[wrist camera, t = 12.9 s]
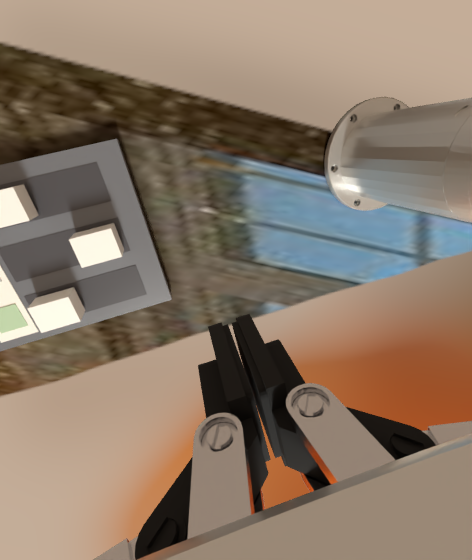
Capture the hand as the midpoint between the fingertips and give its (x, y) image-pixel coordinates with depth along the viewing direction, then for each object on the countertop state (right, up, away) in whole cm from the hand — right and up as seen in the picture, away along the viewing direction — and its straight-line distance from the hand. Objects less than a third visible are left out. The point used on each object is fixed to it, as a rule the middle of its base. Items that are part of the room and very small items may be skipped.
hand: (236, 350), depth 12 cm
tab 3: (-14, +7, +20) cm, 26 cm away
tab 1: (-21, +10, +17) cm, 29 cm away
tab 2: (-19, 0, +22) cm, 29 cm away
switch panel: (-19, +6, +21) cm, 30 cm away
